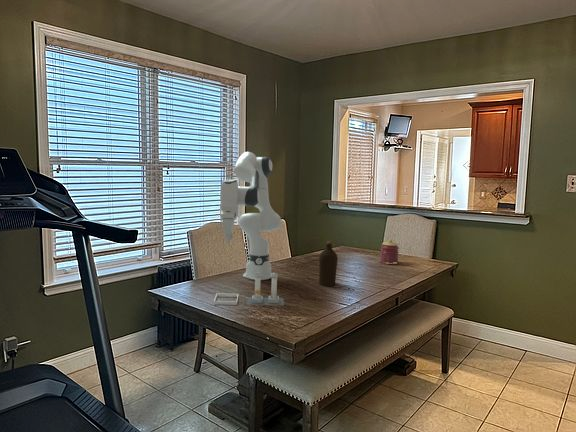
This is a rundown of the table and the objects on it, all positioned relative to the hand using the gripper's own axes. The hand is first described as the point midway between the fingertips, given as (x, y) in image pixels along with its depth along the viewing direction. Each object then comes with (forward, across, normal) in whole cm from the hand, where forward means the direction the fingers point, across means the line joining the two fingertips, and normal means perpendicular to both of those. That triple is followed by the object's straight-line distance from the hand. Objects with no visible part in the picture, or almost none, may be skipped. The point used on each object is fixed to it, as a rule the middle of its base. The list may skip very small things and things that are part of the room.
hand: (228, 240), depth 217 cm
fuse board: (+30, +5, +19) cm, 35 cm away
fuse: (+29, +5, +23) cm, 37 cm away
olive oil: (+30, -33, +55) cm, 71 cm away
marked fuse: (+29, +5, +15) cm, 33 cm away
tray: (+30, +5, 0) cm, 30 cm away
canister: (+29, -95, +109) cm, 148 cm away
